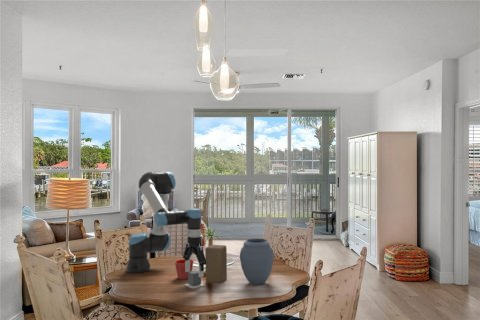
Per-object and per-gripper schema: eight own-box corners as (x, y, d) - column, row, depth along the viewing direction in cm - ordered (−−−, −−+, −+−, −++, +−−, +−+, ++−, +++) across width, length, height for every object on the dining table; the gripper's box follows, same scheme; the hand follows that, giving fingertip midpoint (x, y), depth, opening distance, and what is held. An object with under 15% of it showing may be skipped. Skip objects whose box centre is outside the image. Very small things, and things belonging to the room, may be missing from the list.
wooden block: (227, 279, 247) (227, 245, 247) (221, 283, 237) (220, 248, 238) (211, 277, 250) (211, 244, 250) (205, 282, 241) (204, 247, 241)
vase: (250, 290, 224) (249, 244, 224) (234, 281, 241) (233, 239, 242) (281, 285, 233) (280, 241, 233) (263, 277, 250) (262, 236, 251)
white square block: (184, 285, 235) (184, 273, 235) (196, 282, 240) (196, 270, 240) (192, 288, 229) (192, 275, 229) (204, 285, 234) (204, 273, 234)
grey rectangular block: (188, 283, 235) (188, 271, 235) (196, 282, 238) (195, 270, 238) (193, 285, 231) (193, 273, 231) (201, 283, 234) (201, 272, 234)
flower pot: (190, 280, 246) (190, 263, 246) (172, 279, 248) (172, 263, 248) (195, 275, 256) (195, 259, 256) (178, 274, 258) (178, 259, 259)
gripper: (176, 234, 242) (177, 270, 242) (201, 240, 223) (201, 280, 223) (187, 232, 247) (188, 268, 247) (212, 238, 227) (212, 277, 227)
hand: (194, 274), depth 235 cm, fingers open, 13 cm apart
